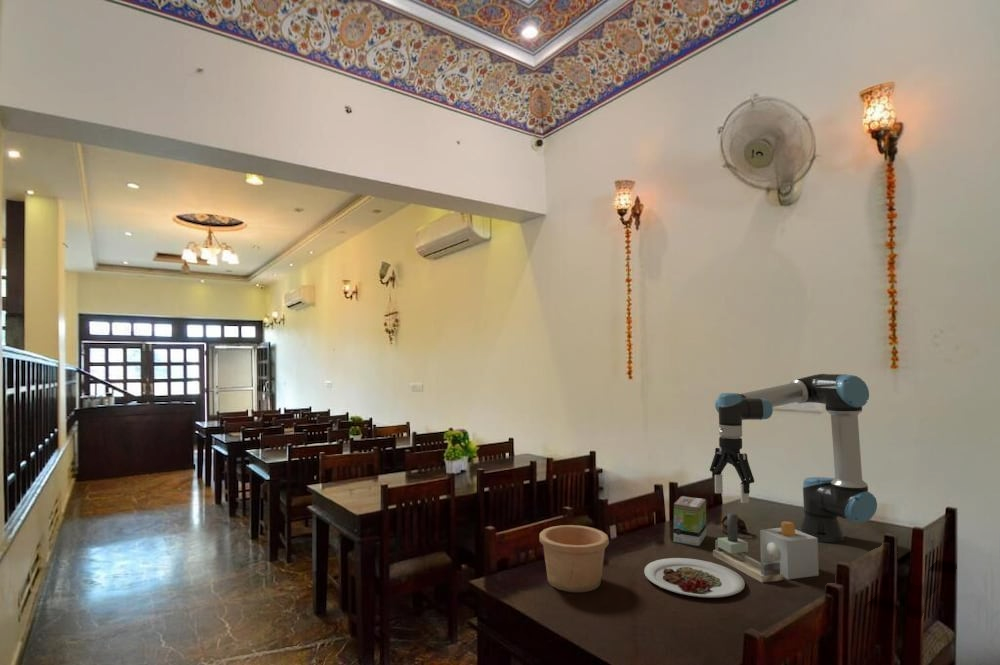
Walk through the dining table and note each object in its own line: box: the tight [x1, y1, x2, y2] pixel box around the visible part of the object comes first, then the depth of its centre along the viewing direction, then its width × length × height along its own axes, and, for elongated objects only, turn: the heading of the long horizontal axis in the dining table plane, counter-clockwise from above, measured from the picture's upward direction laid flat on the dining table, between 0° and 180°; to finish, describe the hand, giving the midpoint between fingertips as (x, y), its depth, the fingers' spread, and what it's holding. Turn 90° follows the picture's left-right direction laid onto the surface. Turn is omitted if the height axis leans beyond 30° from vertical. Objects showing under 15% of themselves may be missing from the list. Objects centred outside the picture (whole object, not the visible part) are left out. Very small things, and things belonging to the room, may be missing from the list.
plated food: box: [643, 557, 746, 598], centre depth 171 cm, size 30×30×3 cm
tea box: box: [673, 495, 707, 547], centre depth 211 cm, size 15×10×15 cm
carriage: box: [717, 512, 749, 554], centre depth 188 cm, size 7×7×12 cm
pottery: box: [538, 524, 610, 594], centre depth 170 cm, size 22×22×14 cm
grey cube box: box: [759, 527, 820, 580], centre depth 179 cm, size 12×12×12 cm
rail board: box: [712, 539, 784, 584], centre depth 182 cm, size 8×24×6 cm, turn 15°
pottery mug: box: [720, 514, 748, 535], centre depth 219 cm, size 12×10×8 cm
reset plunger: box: [780, 521, 796, 537], centre depth 179 cm, size 4×4×8 cm
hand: (731, 497), depth 189 cm, fingers open, 13 cm apart
